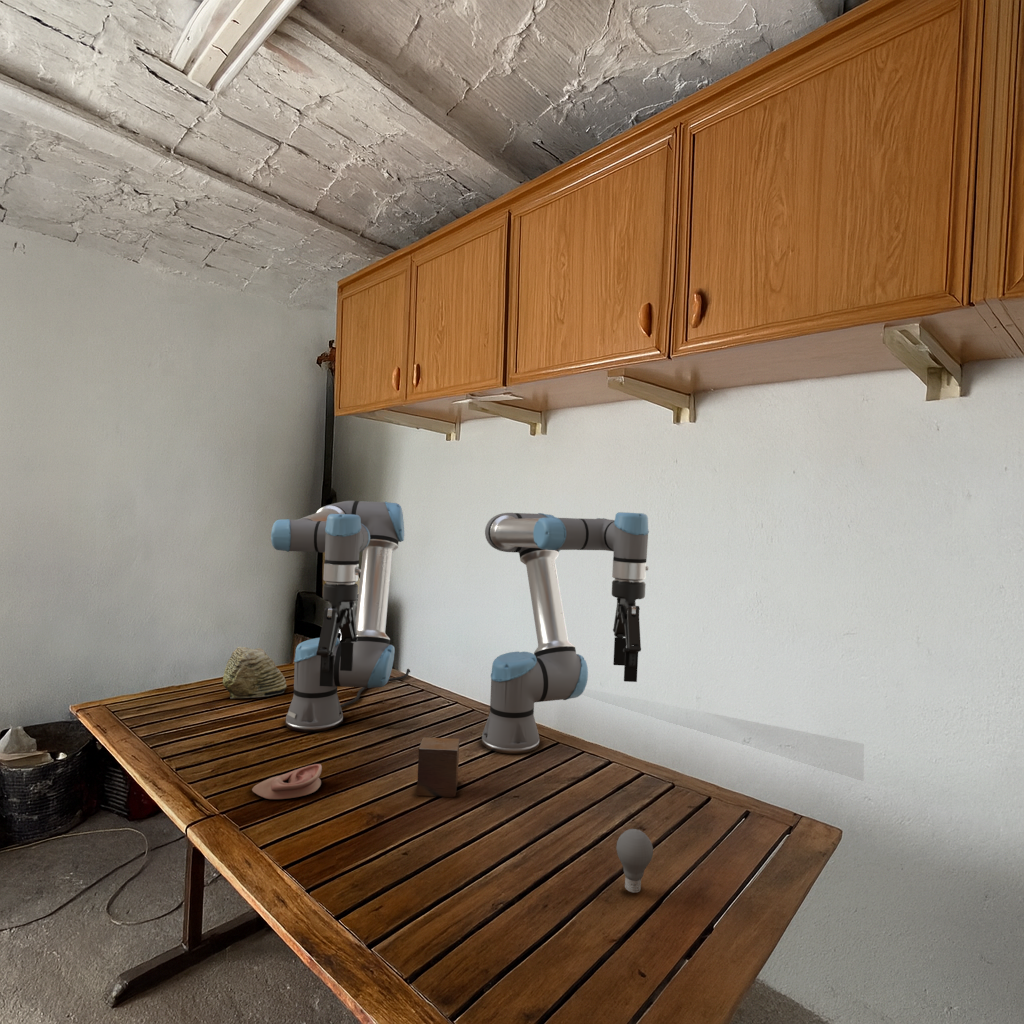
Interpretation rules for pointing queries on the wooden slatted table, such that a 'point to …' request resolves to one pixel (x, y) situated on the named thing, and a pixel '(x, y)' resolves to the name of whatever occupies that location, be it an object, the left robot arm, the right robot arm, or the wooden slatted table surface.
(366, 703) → the wooden slatted table surface
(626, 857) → the light bulb
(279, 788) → the anatomical model
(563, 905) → the wooden slatted table surface
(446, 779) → the block
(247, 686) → the fossil
